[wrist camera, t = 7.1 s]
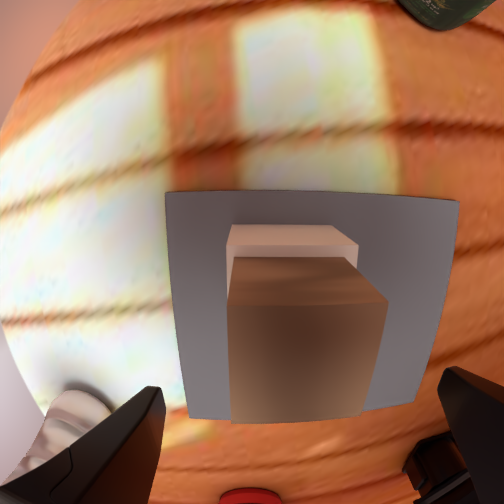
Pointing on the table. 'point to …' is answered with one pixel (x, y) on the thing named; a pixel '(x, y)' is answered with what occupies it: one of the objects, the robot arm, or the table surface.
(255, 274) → the walnut block
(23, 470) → the plastic bottle
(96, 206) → the table surface
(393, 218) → the build mat
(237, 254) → the cream block
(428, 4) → the coffee jar
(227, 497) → the canned food
